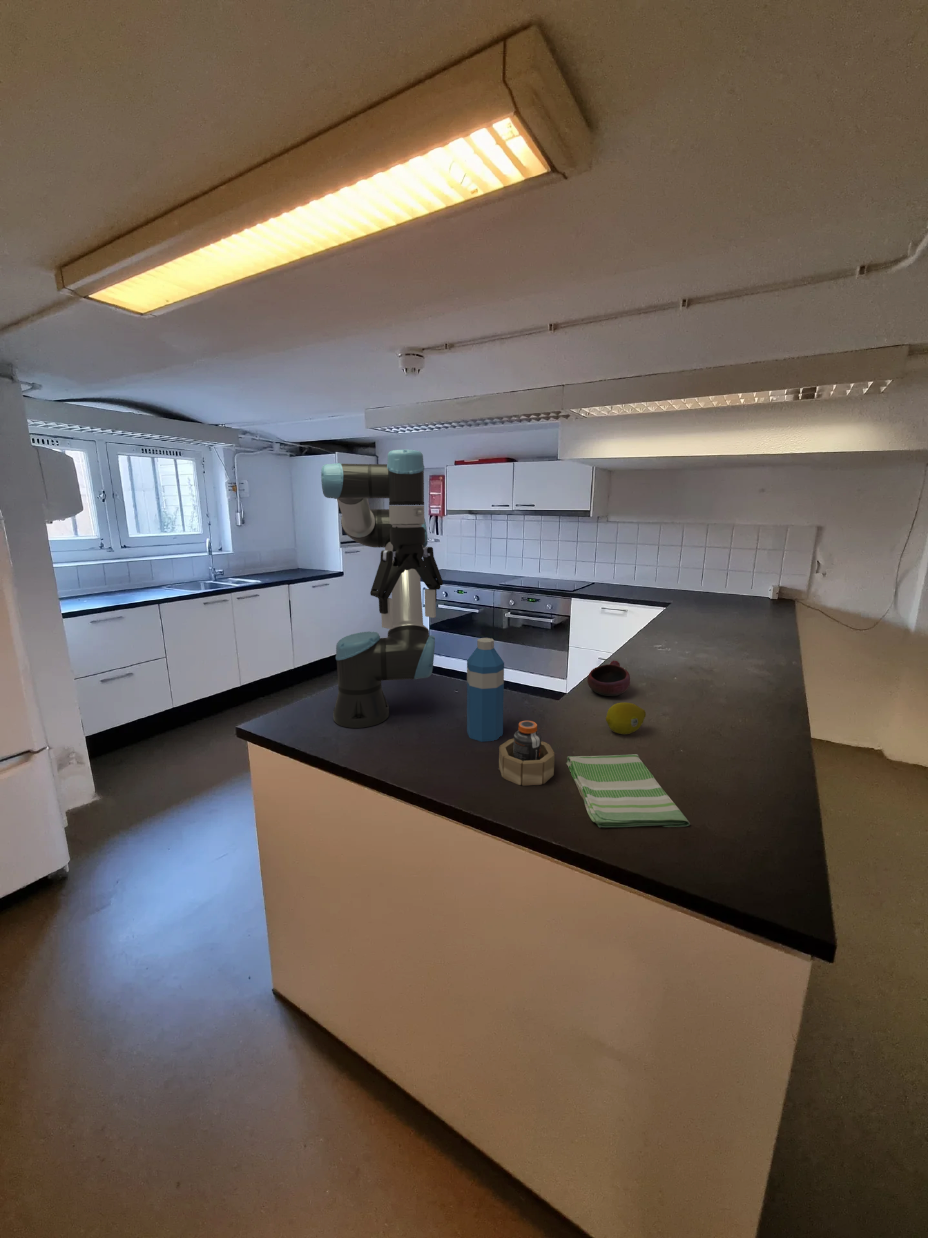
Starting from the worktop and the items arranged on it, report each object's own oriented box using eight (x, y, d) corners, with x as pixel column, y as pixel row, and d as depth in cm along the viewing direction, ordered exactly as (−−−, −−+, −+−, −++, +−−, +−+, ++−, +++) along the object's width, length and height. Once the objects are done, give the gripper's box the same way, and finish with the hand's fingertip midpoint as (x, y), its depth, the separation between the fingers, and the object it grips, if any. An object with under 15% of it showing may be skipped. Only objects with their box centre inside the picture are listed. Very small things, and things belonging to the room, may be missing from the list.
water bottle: (500, 743, 120) (502, 646, 114) (463, 740, 122) (463, 644, 116) (504, 727, 129) (506, 636, 123) (470, 724, 131) (470, 634, 125)
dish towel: (593, 831, 88) (594, 818, 88) (562, 764, 111) (563, 754, 110) (689, 828, 89) (691, 815, 88) (639, 763, 112) (640, 752, 111)
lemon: (609, 740, 122) (611, 710, 120) (598, 726, 129) (600, 698, 127) (651, 738, 122) (654, 709, 120) (638, 725, 130) (640, 697, 128)
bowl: (635, 701, 145) (637, 676, 144) (592, 701, 145) (593, 676, 143) (618, 682, 161) (620, 659, 159) (579, 682, 161) (580, 659, 159)
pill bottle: (544, 776, 105) (546, 728, 103) (519, 780, 104) (520, 731, 101) (533, 762, 111) (534, 716, 108) (508, 766, 109) (509, 719, 107)
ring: (490, 773, 107) (490, 752, 106) (518, 752, 115) (518, 733, 114) (535, 791, 100) (535, 769, 99) (561, 768, 108) (562, 748, 107)
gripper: (374, 528, 93) (379, 636, 97) (457, 524, 112) (457, 614, 116) (349, 527, 97) (355, 630, 102) (433, 523, 116) (434, 610, 121)
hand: (409, 622), depth 109 cm, fingers open, 13 cm apart
